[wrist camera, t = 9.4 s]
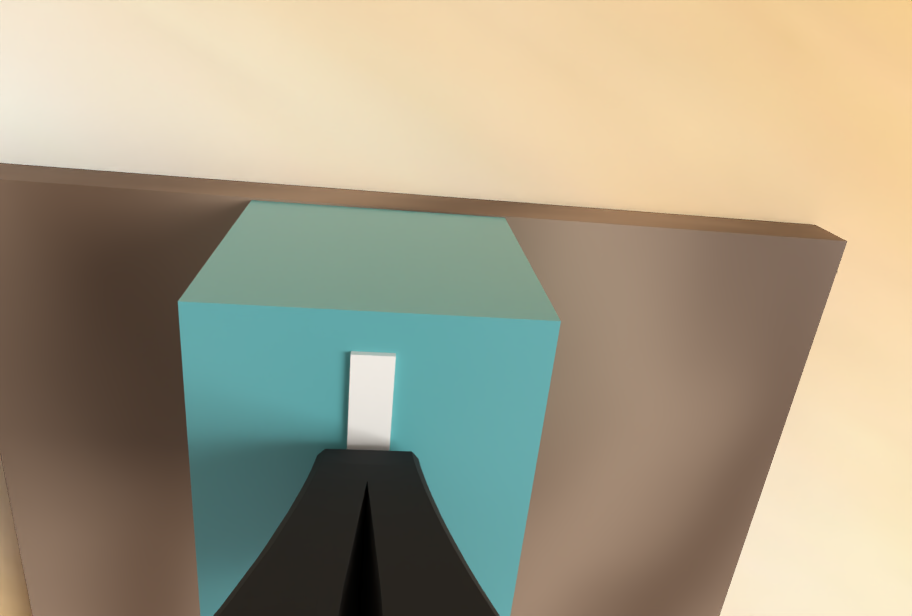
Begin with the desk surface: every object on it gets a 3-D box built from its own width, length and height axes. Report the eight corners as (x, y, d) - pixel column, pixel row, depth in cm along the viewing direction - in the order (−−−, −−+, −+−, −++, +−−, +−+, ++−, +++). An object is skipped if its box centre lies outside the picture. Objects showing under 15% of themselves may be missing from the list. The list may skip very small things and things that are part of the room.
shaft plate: (76, 707, 20) (2, 873, 16) (-20, 162, 14) (-180, 221, 10) (664, 699, 22) (721, 844, 18) (815, 225, 16) (951, 294, 12)
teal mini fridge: (257, 456, 16) (200, 647, 11) (251, 200, 13) (175, 304, 9) (473, 461, 16) (506, 645, 12) (504, 217, 14) (563, 324, 9)
